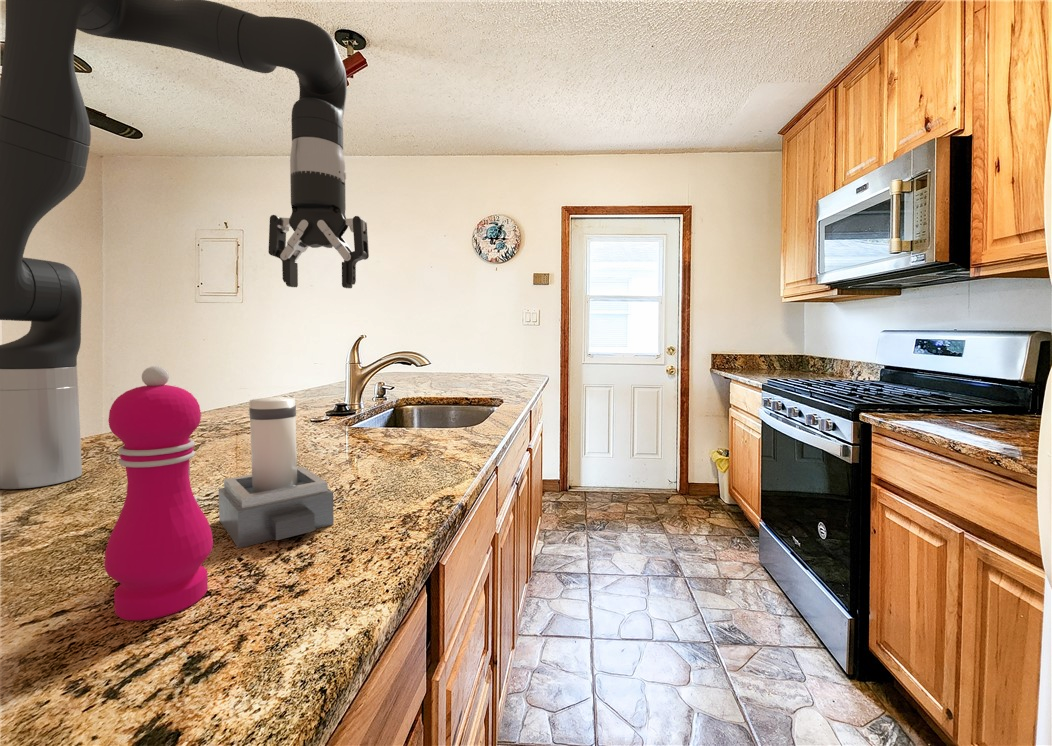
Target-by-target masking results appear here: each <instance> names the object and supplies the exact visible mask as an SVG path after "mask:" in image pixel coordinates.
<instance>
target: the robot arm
mask: <svg viewBox="0 0 1052 746" xmlns="http://www.w3.org/2000/svg"><path fill="white" fill-rule="evenodd" d="M4 29H5V32H4V33H5V34H4V46H3V54H2V55H3V56H2V64H1V71H0V72H1V74H0V321H16V322H17V321H18V322H31V324H30V329H29V331H28V332H27V333H26V334H24V335H23V336H22V337H20V338H18V339H16V340H13V341H10V342H7V343H3V344H0V489H1V490H18V489H20V490H21V489H31V488H40V487H46V486H51V485H55V484H60V483H64V482H69V481H72V480H75V479H78V478H79V477H81V476H83V475H82V474H83V470H82V469H83V467H82V466H83V465H82V443H81V442H82V440H81V422H80V421H81V420H80V417H81V416H80V399H79V385H78V384H79V382H78V380H79V379H78V361H77V360H78V355H79V352H80V349H81V342H82V309H83V308H82V299H83V297H82V288H81V284H80V281H79V278H78V276H77V274H76V273H75V272H74V270H73V269H72V268H71V267H70V266H68V265H66V264H65V263H61V262H56V261H51V260H46V259H45V260H44V259H38V258H30V257H24V253H25V250H26V246H27V243H28V240H29V238H30V235H31V233H32V232H33V230H34V228H35V227H36V225H37V224H38V223H39V222H40V221H41V220H42V218H44V216H46V214H48V213H49V212H50V211H52V210H53V209H54V208H55V207H57V206H58V205H59V204H60V203H61V202H63V201H64V200H65V199H67V198H68V197H69V196H70V195H71V194H73V192H75V190H76V189H78V187H79V186H80V185H81V184H82V182H83V180H84V177H85V176H86V175H85V174H86V170H87V166H88V165H87V164H88V159H89V153H90V146H91V142H92V141H91V139H92V138H91V137H92V132H91V124H90V119H89V116H88V111H87V109H86V105H85V103H84V102H85V101H84V99H83V95H82V92H81V89H80V85H79V83H78V79H77V75H76V70H75V57H74V56H75V55H74V54H75V53H74V51H75V42H76V35H77V30H78V31H80V32H83V33H85V34H87V35H91V36H96V37H101V38H107V39H112V40H113V39H114V40H121V41H128V42H129V41H130V42H131V41H132V42H138V43H146V44H151V45H157V46H161V47H168V48H172V49H175V50H181V51H185V52H189V53H192V54H196V55H198V56H203V57H206V58H209V59H213V60H215V61H216V60H217V61H219V62H222V63H225V64H229V65H232V66H235V67H239V68H242V69H245V70H248V71H252V72H255V73H256V72H257V73H260V74H270V73H272V72H274V71H275V70H276V69H277V67H278V68H283V69H287V70H289V71H292V72H294V73H295V75H296V77H297V79H298V84H299V97H298V100H296V101H295V102H294V104H293V105H292V108H291V119H290V120H291V149H290V155H289V156H290V157H289V159H290V160H289V164H290V165H289V171H290V173H289V174H290V205H291V214H290V217H279V216H278V215H276V214H272V215H270V216H269V227H268V228H269V229H268V231H269V232H268V233H269V234H268V251H267V252H268V254H269V255H270V256H271V257H275V258H278V259H280V261H281V265H282V266H281V267H282V270H281V272H282V274H281V275H282V280H283V283H285V285H286V287H288V288H297V287H298V286H299V280H298V279H299V277H298V275H299V273H298V272H299V271H298V267H299V266H298V264H299V263H297V260H298V259H299V257H300V256H301V255H302V253H305V252H306V251H307V250H308V248H309V247H310V248H316V249H318V248H322V247H323V248H326V249H333V248H334V249H335V250H336V252H337V253H338V254H339V255H340V256H341V258H342V259H343V261H341V286H342V288H344V289H352V288H353V285H356V283H357V278H356V276H357V274H356V271H357V270H356V269H357V268H356V267H357V266H356V265H357V263H358V262H360V261H362V260H364V261H365V260H368V259H369V258H370V257H369V255H370V254H369V240H368V239H369V238H368V237H369V236H368V223H367V221H366V220H365V219H363V218H362V217H361V216H358V215H355V216H353V218H351V217H350V218H347V217H346V179H347V173H346V162H345V155H344V124H343V118H344V113H345V107H346V100H347V94H348V93H347V91H348V89H347V88H348V86H347V85H348V84H347V83H348V82H347V73H346V68H345V65H344V62H343V60H342V58H341V55H340V53H339V49H338V46H337V44H336V43H335V41H334V39H333V38H332V36H331V35H330V33H329V32H327V30H325V29H324V28H322V27H321V26H319V25H318V24H315V23H314V22H312V21H310V20H309V21H308V20H306V19H301V18H297V17H296V18H295V17H286V16H285V17H284V16H283V17H282V16H259V15H257V14H255V13H254V14H253V13H251V12H248V11H246V10H242V9H239V8H235V7H233V6H229V5H226V4H223V3H220V2H216V1H212V0H5V28H4ZM290 228H291V229H292V230H293V234H292V235H291V236H290V238H288V240H287V233H288V232H289V231H290ZM348 228H349V231H350V232H351V233H353V245H354V251H353V250H352V249H351V247H350V245H349V244H348V243H347V241H346V240H345V238H344V237H343V235H344V234H345V232H346V231H347V230H348ZM286 240H287V241H286Z"/></svg>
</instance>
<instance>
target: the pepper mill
mask: <svg viewBox="0 0 1052 746" xmlns="http://www.w3.org/2000/svg"><path fill="white" fill-rule="evenodd" d="M169 379H170V375H169V373H168V371H167V370H166V369H165V368H164V367H162V366H159V365H158V366H157V365H155V366H154V365H153V366H149V367H147V368H145V369H144V370H143V372H142V374H141V380H142V383H144V385H142V386H136V387H134V388H131V389H129V390H127V391H125V392H123V393H122V394H120V395H118V397H116V398H115V400H114V401H113V403H112V404H111V406H110V409H109V413H108V421H107V422H108V426H109V429H110V430H111V433H113V435H114V436H115V437H117V438H118V439H119V440H121V441H122V443H123V445H122V446H120V447H119V448H118V449H117V452H118V453H119V454H120V455H119V457H120V458H119V460H118V464H119V465H120V466H122V467H125V472H126V478H127V483H126V484H127V486H126V495H125V499H124V504H123V507H122V509H121V512H120V514H119V516H118V518H117V520H116V523H115V525H114V527H113V529H112V531H111V533H110V535H109V537H108V541H107V545H106V548H105V552H104V570H105V572H106V574H107V576H109V577H110V578H111V579H113V580H114V581H116V582H118V583H120V584H119V585H118V586H117V587H116V588H115V589H114V593H113V596H114V597H113V599H114V614H115V615H116V616H117V617H118V618H120V619H121V620H125V621H131V622H132V621H133V622H134V621H135V622H136V621H138V622H139V621H148V620H149V621H150V620H154V619H159V618H163V617H166V616H169V615H173V614H176V613H178V612H180V611H182V610H185V609H187V608H189V607H191V606H193V605H194V604H196V603H197V602H199V601H200V600H201V599H202V598H203V597H204V596H205V595H206V593H207V591H208V587H209V586H208V585H209V584H208V569H207V568H206V567H205V566H203V565H202V564H203V563H204V562H205V561H206V559H208V557H209V556H210V555H211V553H212V550H213V546H214V540H213V531H212V529H211V526H210V523H209V521H208V518H207V517H206V515H205V513H204V512H203V510H202V509H201V506H200V505H199V503H198V500H197V501H196V500H195V498H194V492H193V489H192V487H191V485H192V484H191V480H190V475H189V463H190V460H191V459H192V458H194V457H195V456H196V452H195V451H194V446H195V444H196V443H195V441H194V440H192V438H191V439H190V437H191V436H192V434H193V433H195V430H197V428H198V427H199V425H200V423H201V419H202V418H201V417H202V411H201V408H200V407H201V406H200V403H199V402H198V400H197V399H196V397H195V396H194V395H193V394H192V392H189V391H188V390H186V389H184V388H182V387H180V386H176V385H175V386H174V385H169V384H167V383H168V381H169Z"/></svg>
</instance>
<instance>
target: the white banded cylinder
mask: <svg viewBox="0 0 1052 746" xmlns="http://www.w3.org/2000/svg"><path fill="white" fill-rule="evenodd" d="M248 411H249V413H248V415H249V422H250V424H249V425H250V429H249V430H250V449H251V450H250V451H251V452H250V453H251V460H250V461H251V475H252V491H253V493H258V492H264V491H269V490H274V489H280V488H285V487H291V486H296V485H297V467H298V460H297V459H298V458H297V456H298V454H297V448H298V447H297V420H296V419H297V418H296V416H297V405H296V398H295V397H288V396H287V397H286V396H285V397H284V396H283V397H282V396H280V397H278V396H276V397H275V396H274V397H262V398H261V397H260V398H254V399H250V400H249V407H248Z"/></svg>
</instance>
